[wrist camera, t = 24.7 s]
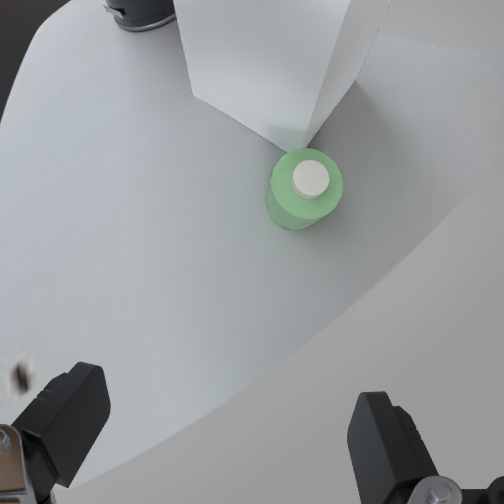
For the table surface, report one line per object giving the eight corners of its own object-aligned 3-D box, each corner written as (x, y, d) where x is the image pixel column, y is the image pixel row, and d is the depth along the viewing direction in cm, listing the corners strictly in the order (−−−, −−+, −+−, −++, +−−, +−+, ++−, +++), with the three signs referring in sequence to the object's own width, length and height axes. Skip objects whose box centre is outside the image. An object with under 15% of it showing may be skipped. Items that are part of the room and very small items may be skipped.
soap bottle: (276, 167, 29) (286, 130, 20) (328, 186, 29) (357, 157, 20) (258, 219, 28) (261, 200, 20) (312, 238, 28) (336, 227, 20)
